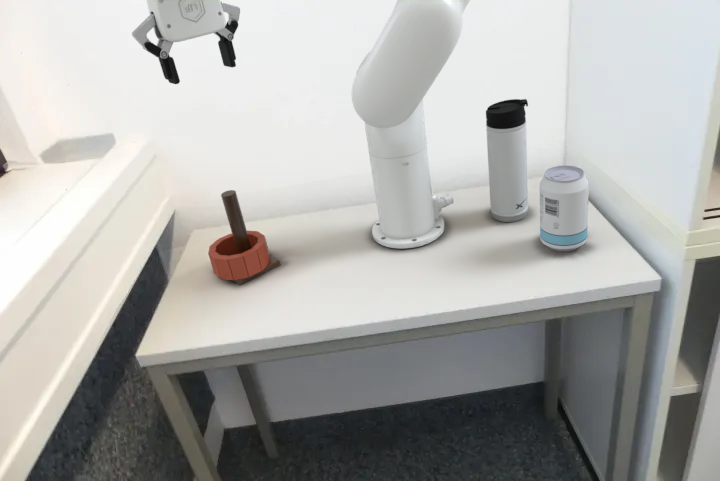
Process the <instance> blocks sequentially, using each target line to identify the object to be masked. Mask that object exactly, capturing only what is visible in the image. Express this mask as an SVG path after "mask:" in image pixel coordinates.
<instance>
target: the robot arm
mask: <svg viewBox="0 0 720 481" xmlns="http://www.w3.org/2000/svg"><path fill="white" fill-rule="evenodd" d="M470 1H471V0H396V3H395V5H394V8H393V10H392V12H391V14H390V16H389V17H388V20H386V23H385V25H384V27H383V28H382V30H381V32H380V34H379V36H378V37H377V39H376V41H375V43H374V45H373V46H372V48H371V50H369V51H368V53H367V54H366V55H365V56H364V57H363V59H362V60H361V62H360V64H359V65H358V69H357V71H356V74H355V77H354V79H353V82H352V85H351V102H352V106H353V108H354V111H355V112H356V114H357V116H358V117H359V118H360V119H361V120H362V121H363V122H364V129H365V136H366V143H367V149H368V157H369V163H370V169H371V170H370V171H371V176H372V182H373V190H374V195H375V201H376V207H377V208H376V209H377V215H378V220H376V222H375V223H374V224H373V226H372V228H371V233H372V238H373V240H374V241H375V242H376V243H377V244H379V245H381V246H383V247H385V248H389V249H390V248H391V249H401V250H402V249H404V250H405V249H413V248H417V247H419V248H420V247H422V246H426V245H428V244H430V243H432V242H434V241H436V240H437V239H438V238H440V237H441V236H442V234H443V233H444V231H445V228H446V227H445V220H444V218H443V217H442V216H441V215H440V213H441V212H442V210H443V209H444V208H446V207H449V206H450V205H452V204H454V201H455V200H454V197H453V196H452V195H451V194H450V193H447V194H445V195H442V196H441V197H439V198H438V196H437V195H436V194H433V190H432V181H431V170H430V162H429V154H428V153H429V152H428V142H427V131H426V123H425V122H426V121H425V113H424V112H425V111H424V98H425V96H426V95H427V94H428V92H429V90H430V89H431V87H432V85H433V84H434V82H435V80H436V79H437V77H438V76H439V74H440V73H441V72H442V70H443V68H444V66H445V65H446V63H447V62H448V60H449V59H450V58H451V55H452V54H453V51H454V50H455V48H456V46H457V44H458V42H459V39H460V37H461V33H462V28H463V14H464V12H465V10H466V8H467V6H468V5H469V2H470ZM146 5H147V8H148V14H149V15H148V17H146V18H145V19H144V20H143V21H142V22H141V23H140V24H139V25H138V26H137V27H135V29H134V30H133V31H132V32H131V35H132V37H133V38H134V40H136V41H137V44H139V45H140V46H141V47H142V49H143V50H145V51H147V52H148V53H149V54H152V55H153V56H154V57H155V58H158V61H159V64H160V68H161V72H162V74H163V77H164V79H165V80H167V81H168V83H170V84H173V85H178V84H180V82H181V80H180V77H179V73H178V70H177V66H176V62H175V60H174V57H173V56H170V52H171V49H172V48H173V45H174V43H181V42H185V41H189V40H193V39H196V38H201V37H205V36H207V35H212V34H214V35H215V36H217V38H219V40H218V42H217V44H218V48H219V53H220V57H221V60H222V64H223V66H224V67H227V68H236V66H237V65H236V60H237V57H236V52H235V48H234V43H233V40H234V38H235V33H236V32H237V29H238V27H239V20H240V14H241V8H240V7H239V6H236V5H234V4H230V3H227V2H224V1H221V0H146ZM225 13H226V14H228V20H227V21H226V17H225ZM152 29H153V32H154V34H155V36H156V38H157V39H158V40H157V43H156V44H155V43H153V42H152V41H151V40H150V39H149V38H148V37H147V34H148V33H149V32H150V31H151V30H152Z"/></svg>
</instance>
